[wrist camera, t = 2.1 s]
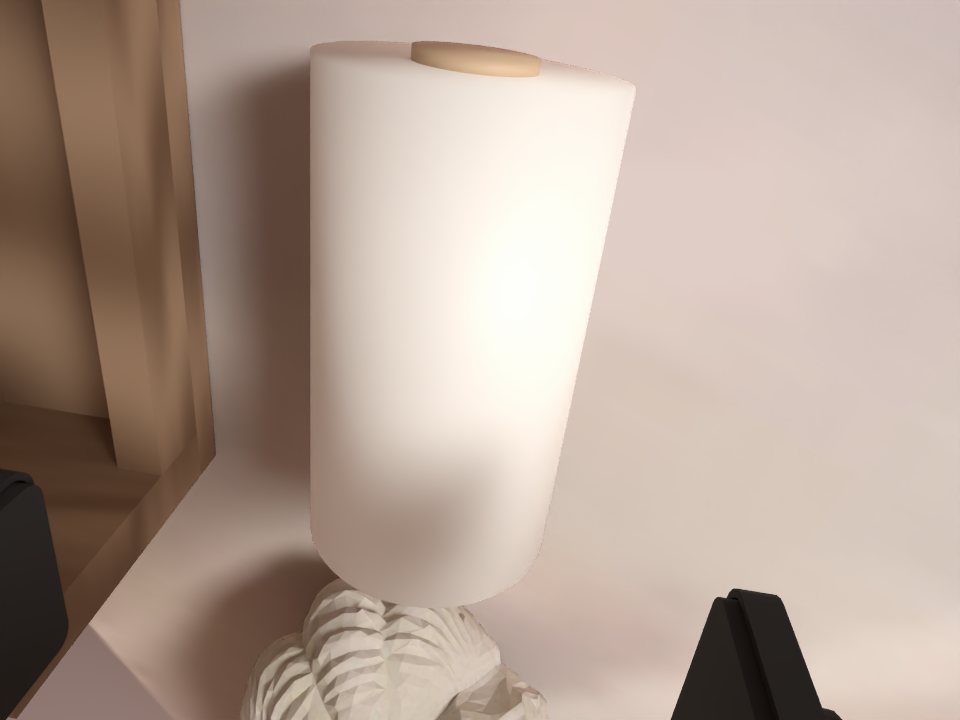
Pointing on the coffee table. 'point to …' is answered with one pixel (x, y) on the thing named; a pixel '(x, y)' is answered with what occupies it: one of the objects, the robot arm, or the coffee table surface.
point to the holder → (99, 283)
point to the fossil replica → (386, 666)
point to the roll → (448, 304)
